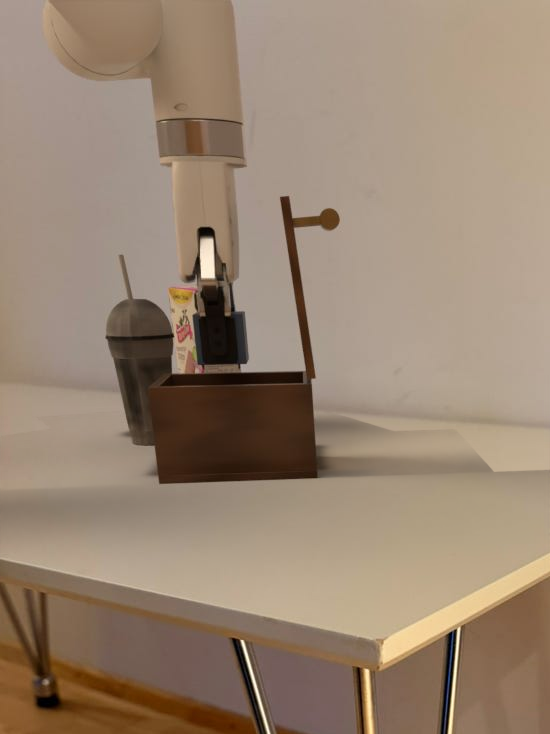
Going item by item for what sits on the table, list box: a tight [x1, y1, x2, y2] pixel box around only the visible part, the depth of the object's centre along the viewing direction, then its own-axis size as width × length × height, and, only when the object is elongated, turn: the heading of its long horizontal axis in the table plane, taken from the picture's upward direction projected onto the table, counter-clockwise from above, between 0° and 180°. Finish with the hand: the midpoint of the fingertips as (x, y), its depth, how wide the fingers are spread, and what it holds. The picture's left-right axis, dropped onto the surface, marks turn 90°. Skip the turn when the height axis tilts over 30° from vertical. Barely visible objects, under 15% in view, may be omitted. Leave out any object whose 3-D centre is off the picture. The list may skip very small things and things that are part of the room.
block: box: [192, 310, 250, 365], centre depth 93 cm, size 4×4×4 cm
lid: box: [279, 195, 341, 380], centre depth 93 cm, size 15×12×5 cm
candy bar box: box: [167, 285, 242, 373], centre depth 120 cm, size 11×5×16 cm, turn 32°
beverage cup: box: [105, 254, 174, 446], centre depth 109 cm, size 7×7×20 cm
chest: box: [148, 370, 319, 485], centre depth 96 cm, size 15×12×9 cm
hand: (222, 358), depth 94 cm, fingers closed on block, 4 cm apart
